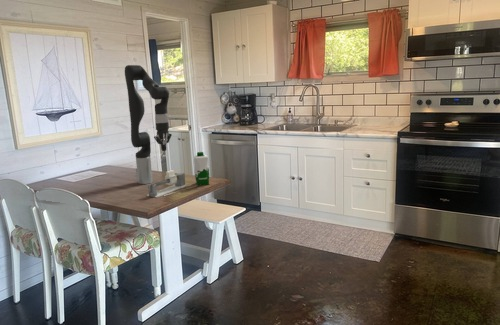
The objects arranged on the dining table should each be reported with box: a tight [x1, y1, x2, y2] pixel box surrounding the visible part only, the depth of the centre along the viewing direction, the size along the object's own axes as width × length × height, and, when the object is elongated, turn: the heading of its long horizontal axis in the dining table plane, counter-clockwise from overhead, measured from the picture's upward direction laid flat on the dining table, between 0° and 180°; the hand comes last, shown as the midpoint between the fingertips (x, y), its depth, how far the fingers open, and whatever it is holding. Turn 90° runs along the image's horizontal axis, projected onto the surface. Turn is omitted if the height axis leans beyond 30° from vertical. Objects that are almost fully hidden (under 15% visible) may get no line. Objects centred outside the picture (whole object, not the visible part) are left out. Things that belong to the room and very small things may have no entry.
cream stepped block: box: [164, 169, 177, 186], centre depth 237 cm, size 5×5×8 cm
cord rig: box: [146, 172, 187, 198], centre depth 235 cm, size 27×8×8 cm, turn 150°
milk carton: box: [193, 151, 210, 186], centre depth 247 cm, size 9×9×20 cm
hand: (164, 150), depth 232 cm, fingers closed
